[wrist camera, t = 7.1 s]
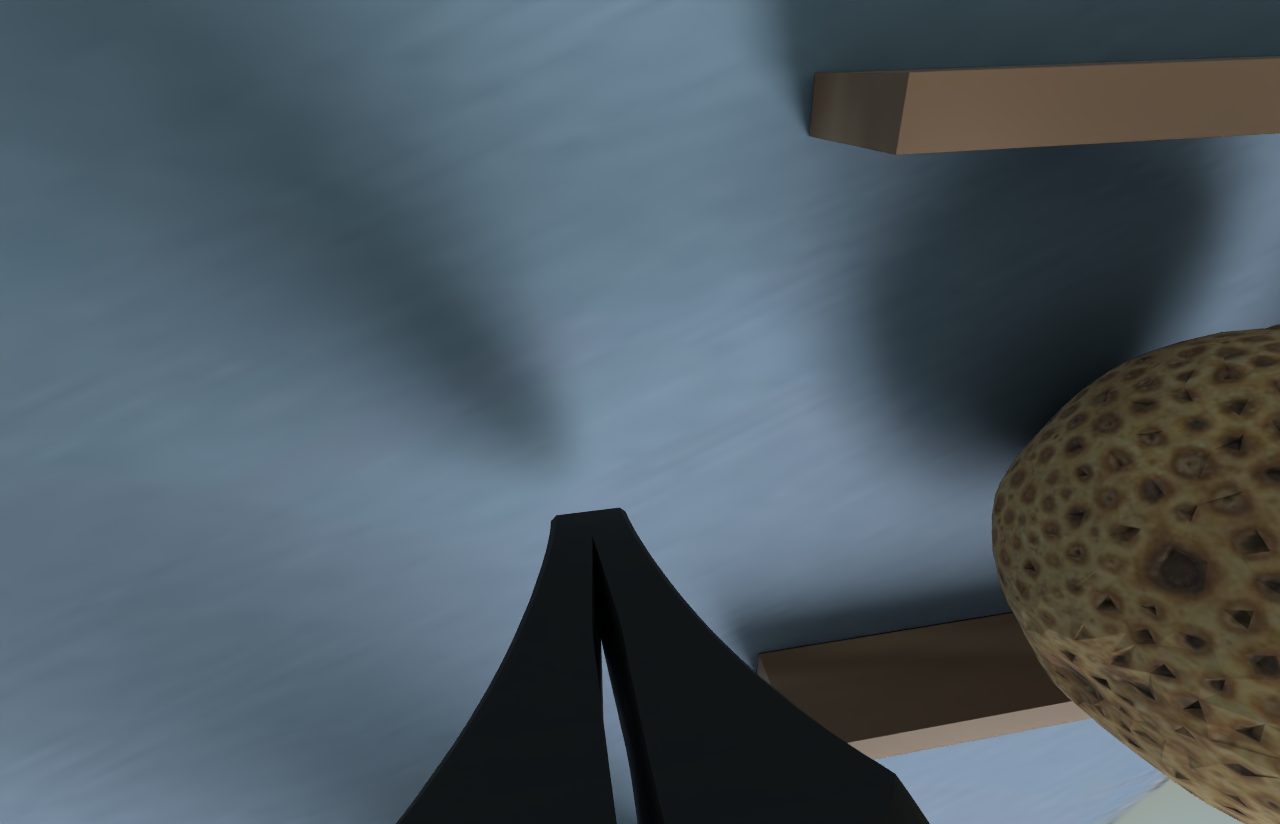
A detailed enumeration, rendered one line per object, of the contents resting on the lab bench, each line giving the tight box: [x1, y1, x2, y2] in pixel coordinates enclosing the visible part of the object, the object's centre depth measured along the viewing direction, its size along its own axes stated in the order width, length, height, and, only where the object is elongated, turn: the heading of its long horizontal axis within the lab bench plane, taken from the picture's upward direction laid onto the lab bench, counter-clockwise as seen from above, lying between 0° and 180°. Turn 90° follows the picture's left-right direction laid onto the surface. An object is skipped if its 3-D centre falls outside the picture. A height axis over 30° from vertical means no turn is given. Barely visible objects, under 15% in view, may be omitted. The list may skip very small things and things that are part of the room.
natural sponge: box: [992, 324, 1280, 824], centre depth 11 cm, size 9×9×10 cm
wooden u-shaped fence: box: [757, 56, 1280, 760], centre depth 13 cm, size 16×16×5 cm
